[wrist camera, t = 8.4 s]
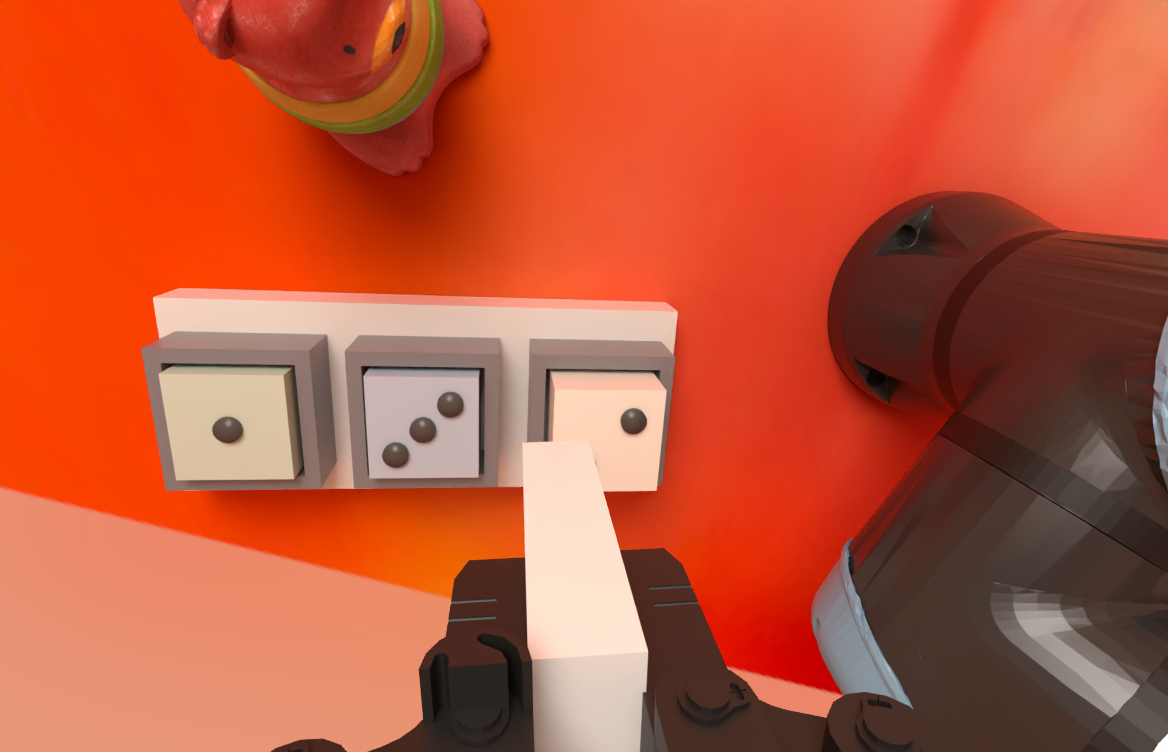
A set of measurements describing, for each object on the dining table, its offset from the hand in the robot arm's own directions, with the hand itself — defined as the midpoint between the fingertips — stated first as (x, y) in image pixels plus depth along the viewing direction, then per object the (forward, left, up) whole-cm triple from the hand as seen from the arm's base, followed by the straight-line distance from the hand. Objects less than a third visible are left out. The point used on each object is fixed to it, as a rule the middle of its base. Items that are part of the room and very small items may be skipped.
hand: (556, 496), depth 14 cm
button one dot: (+15, +7, -24) cm, 29 cm away
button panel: (+5, +7, -27) cm, 28 cm away
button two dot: (-4, +7, -22) cm, 23 cm away
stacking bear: (+8, -13, -27) cm, 31 cm away
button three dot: (+5, +7, -24) cm, 25 cm away
